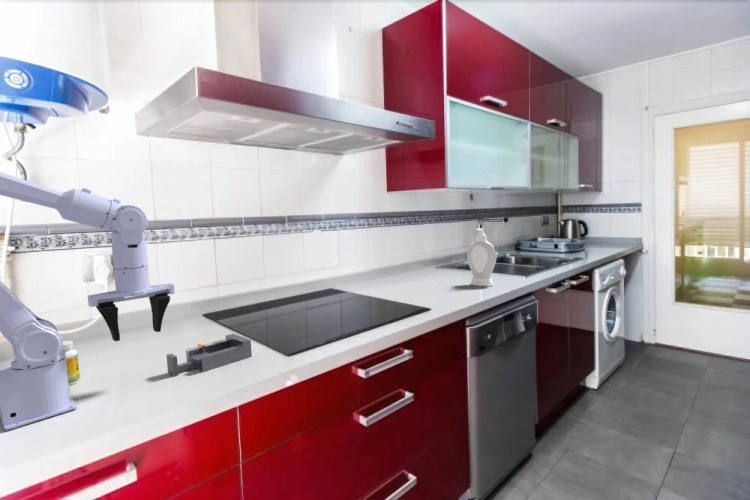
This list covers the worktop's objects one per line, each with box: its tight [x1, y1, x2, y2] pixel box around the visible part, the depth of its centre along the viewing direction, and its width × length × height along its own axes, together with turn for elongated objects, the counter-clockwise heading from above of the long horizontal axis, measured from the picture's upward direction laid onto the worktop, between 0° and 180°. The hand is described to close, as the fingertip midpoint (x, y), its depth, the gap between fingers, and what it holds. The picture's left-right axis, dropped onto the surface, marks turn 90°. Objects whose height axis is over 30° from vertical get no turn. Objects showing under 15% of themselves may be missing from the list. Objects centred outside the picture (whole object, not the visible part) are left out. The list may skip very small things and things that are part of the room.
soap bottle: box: [466, 227, 497, 287], centre depth 169 cm, size 13×8×24 cm, turn 53°
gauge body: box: [185, 333, 253, 373], centre depth 92 cm, size 12×8×4 cm
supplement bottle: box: [61, 340, 81, 387], centre depth 81 cm, size 5×5×8 cm
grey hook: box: [165, 342, 209, 377], centre depth 88 cm, size 8×6×4 cm
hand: (137, 335), depth 79 cm, fingers open, 7 cm apart
